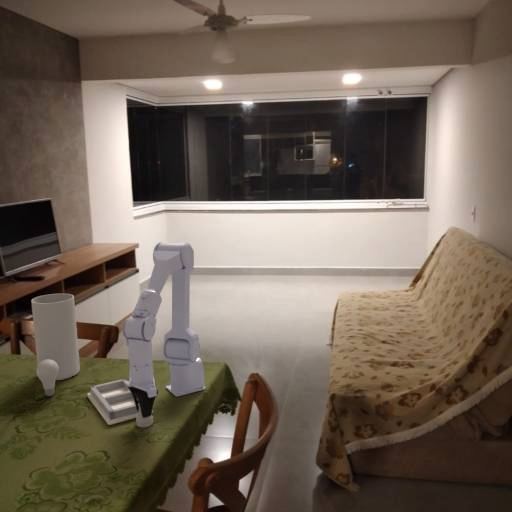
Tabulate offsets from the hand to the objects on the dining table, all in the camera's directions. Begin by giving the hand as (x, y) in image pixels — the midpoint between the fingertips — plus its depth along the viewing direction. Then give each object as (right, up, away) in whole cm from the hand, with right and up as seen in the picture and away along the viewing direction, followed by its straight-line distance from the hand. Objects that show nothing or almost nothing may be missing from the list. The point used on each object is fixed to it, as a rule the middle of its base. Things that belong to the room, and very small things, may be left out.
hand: (144, 413), depth 135 cm
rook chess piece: (0, -3, +1) cm, 3 cm away
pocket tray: (-10, -1, +12) cm, 15 cm away
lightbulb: (-31, -1, +19) cm, 36 cm away
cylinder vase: (-35, +2, +35) cm, 49 cm away
